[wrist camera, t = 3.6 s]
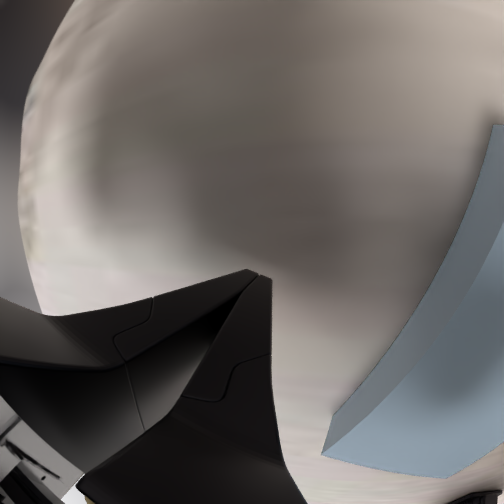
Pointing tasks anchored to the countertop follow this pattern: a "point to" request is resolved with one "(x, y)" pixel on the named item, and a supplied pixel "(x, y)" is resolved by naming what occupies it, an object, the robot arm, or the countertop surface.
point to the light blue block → (441, 357)
